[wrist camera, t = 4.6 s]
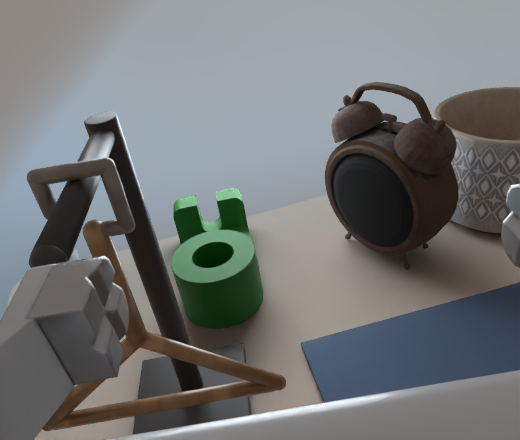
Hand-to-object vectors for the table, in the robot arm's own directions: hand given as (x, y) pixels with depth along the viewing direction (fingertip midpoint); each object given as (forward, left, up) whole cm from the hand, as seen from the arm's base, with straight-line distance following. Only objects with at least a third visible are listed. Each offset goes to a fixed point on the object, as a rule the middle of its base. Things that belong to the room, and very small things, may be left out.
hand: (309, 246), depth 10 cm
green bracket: (+38, +2, -31) cm, 49 cm away
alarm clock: (+35, -18, -31) cm, 50 cm away
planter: (+38, -35, -31) cm, 60 cm away
